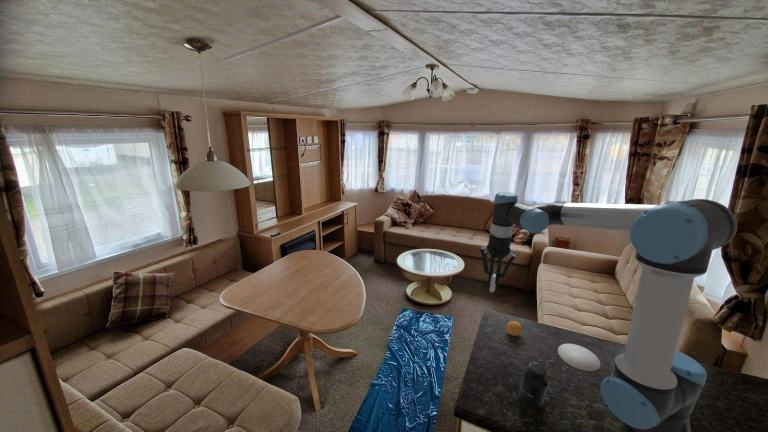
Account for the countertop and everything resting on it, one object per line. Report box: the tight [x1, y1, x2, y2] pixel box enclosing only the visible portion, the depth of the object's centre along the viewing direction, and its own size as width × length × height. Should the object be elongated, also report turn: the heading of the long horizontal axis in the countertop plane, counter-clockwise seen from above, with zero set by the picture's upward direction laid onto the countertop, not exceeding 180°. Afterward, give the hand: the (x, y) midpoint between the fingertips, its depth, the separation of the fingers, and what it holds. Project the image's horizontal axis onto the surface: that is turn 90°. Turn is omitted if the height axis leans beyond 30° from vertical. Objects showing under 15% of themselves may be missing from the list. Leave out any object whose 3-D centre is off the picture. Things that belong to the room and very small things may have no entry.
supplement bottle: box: [518, 361, 549, 409], centre depth 92 cm, size 7×7×12 cm
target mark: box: [557, 343, 601, 372], centre depth 111 cm, size 13×13×1 cm
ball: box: [506, 320, 523, 337], centre depth 121 cm, size 6×6×6 cm
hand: (492, 290), depth 121 cm, fingers closed
